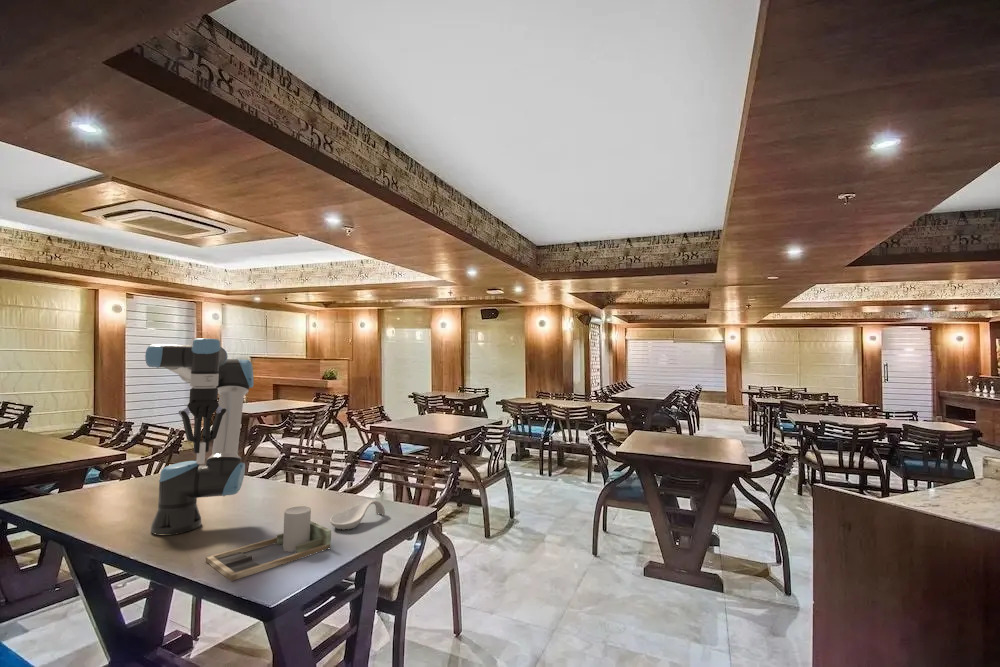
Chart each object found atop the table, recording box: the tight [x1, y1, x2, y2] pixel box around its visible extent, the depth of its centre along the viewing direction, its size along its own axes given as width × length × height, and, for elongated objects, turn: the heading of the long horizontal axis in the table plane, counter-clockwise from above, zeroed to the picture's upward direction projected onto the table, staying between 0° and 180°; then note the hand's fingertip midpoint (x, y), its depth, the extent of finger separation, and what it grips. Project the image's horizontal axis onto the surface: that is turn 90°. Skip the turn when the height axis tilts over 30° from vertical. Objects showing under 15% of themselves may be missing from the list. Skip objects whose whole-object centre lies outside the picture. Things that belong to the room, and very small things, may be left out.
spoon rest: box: [329, 499, 386, 531], centre depth 181 cm, size 24×12×7 cm, turn 150°
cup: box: [282, 505, 312, 553], centre depth 157 cm, size 8×8×12 cm
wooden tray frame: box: [205, 520, 332, 582], centre depth 150 cm, size 19×30×6 cm, turn 140°
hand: (200, 463), depth 147 cm, fingers closed
